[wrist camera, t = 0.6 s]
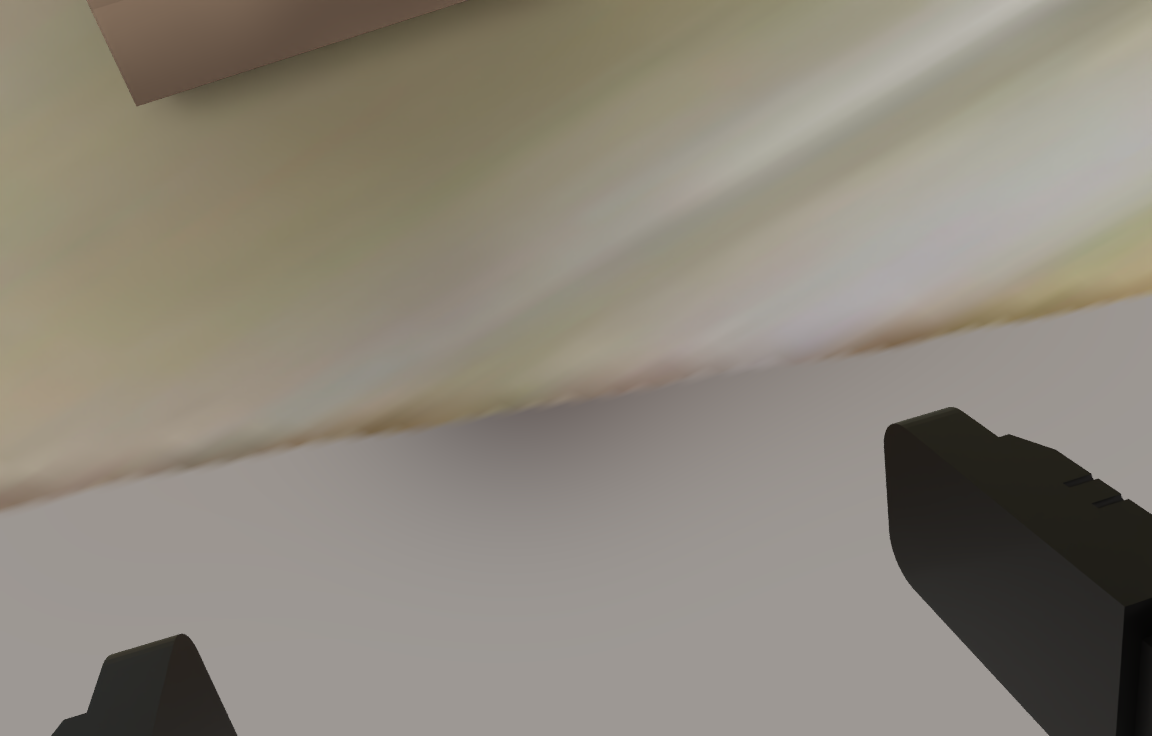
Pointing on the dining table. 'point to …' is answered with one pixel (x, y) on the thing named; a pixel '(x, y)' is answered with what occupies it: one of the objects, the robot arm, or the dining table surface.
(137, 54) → the frame
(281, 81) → the dining table surface
